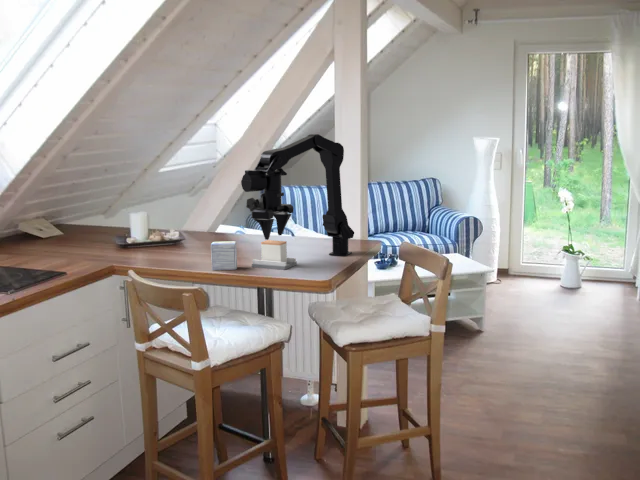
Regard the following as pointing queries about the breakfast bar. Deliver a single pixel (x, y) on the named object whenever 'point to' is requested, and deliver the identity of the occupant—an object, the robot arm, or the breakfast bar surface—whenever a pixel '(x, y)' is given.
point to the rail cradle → (275, 264)
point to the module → (274, 250)
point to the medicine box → (224, 255)
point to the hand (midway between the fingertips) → (273, 237)
